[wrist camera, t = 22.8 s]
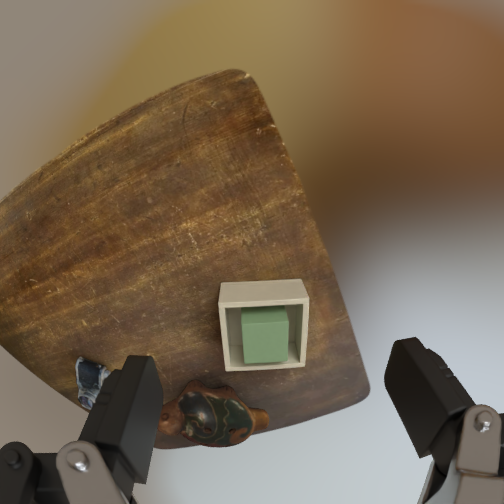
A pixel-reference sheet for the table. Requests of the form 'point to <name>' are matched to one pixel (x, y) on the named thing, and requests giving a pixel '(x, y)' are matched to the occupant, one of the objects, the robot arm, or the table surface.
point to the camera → (89, 380)
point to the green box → (264, 334)
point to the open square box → (263, 295)
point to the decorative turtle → (211, 416)
